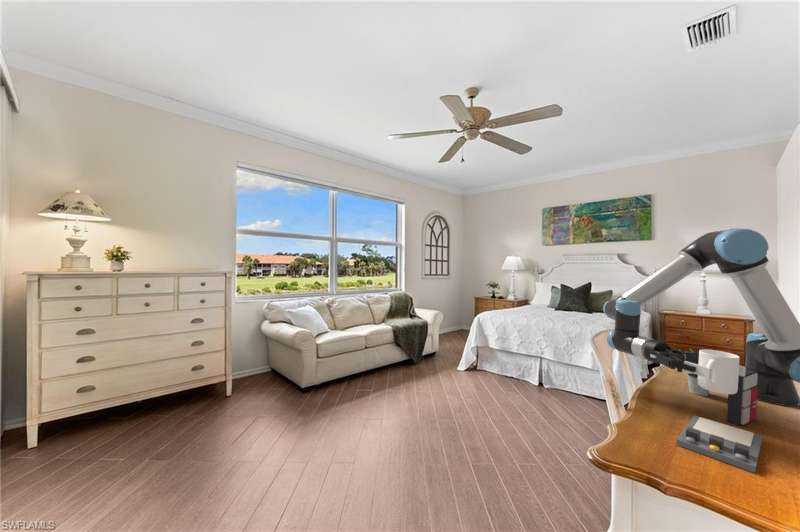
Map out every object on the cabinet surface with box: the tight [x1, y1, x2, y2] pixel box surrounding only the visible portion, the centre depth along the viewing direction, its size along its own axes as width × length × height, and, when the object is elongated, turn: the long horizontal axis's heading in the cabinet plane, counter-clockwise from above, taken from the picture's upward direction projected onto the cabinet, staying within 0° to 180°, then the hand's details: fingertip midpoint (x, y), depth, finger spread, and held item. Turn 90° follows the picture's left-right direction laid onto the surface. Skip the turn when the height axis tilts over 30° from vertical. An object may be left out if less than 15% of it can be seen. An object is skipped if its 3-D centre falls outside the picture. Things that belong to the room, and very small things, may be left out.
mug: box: [698, 349, 741, 395], centre depth 92 cm, size 12×8×10 cm
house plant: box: [686, 348, 710, 397], centre depth 121 cm, size 14×14×16 cm
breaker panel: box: [676, 415, 763, 474], centre depth 87 cm, size 22×14×4 cm, turn 129°
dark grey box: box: [726, 369, 758, 427], centre depth 100 cm, size 11×4×15 cm, turn 117°
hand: (727, 372), depth 89 cm, fingers closed on mug, 11 cm apart
